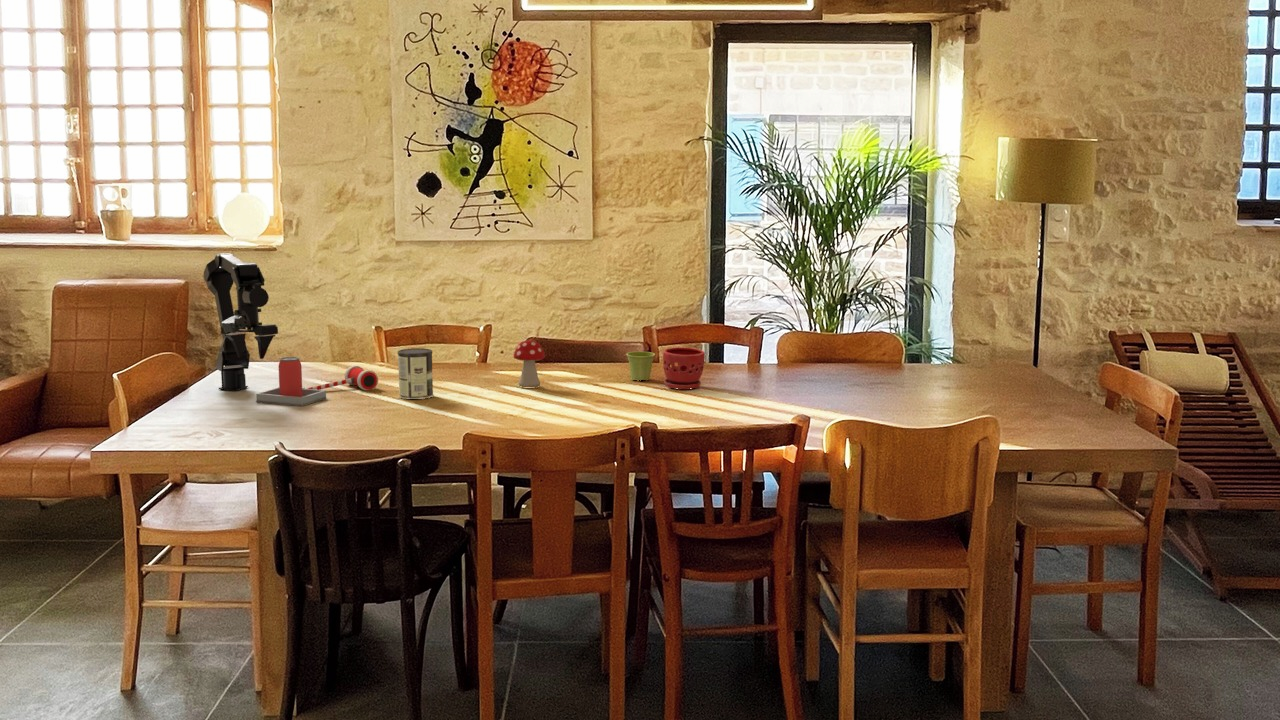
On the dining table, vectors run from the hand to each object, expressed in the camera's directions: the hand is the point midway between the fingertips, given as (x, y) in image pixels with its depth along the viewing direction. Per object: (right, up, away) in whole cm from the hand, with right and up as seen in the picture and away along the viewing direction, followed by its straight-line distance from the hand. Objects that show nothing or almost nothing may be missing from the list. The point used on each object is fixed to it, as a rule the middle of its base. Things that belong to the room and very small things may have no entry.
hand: (251, 358), depth 380 cm
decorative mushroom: (+81, -9, +23) cm, 84 cm away
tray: (+12, -13, -1) cm, 17 cm away
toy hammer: (+24, -10, +18) cm, 31 cm away
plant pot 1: (+116, -7, +36) cm, 121 cm away
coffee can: (+48, -12, +6) cm, 50 cm away
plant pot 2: (+129, -10, +24) cm, 132 cm away
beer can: (+12, -12, 0) cm, 17 cm away
